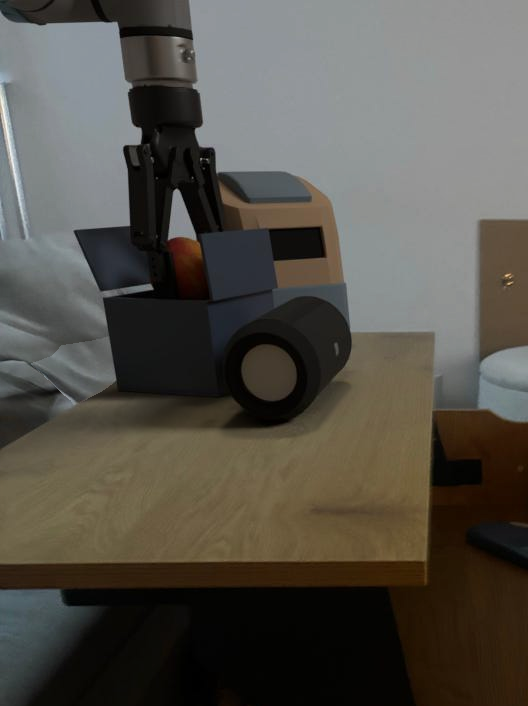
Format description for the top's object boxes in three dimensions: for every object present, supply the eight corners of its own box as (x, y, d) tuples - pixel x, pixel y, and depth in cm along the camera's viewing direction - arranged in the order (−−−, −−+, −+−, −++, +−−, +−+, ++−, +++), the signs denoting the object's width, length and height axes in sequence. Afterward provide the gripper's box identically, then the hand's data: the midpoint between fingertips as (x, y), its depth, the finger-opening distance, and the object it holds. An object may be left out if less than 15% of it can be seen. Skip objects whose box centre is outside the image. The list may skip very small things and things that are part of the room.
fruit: (165, 306, 119) (156, 234, 116) (232, 305, 120) (225, 234, 116) (148, 314, 112) (137, 239, 109) (219, 314, 112) (211, 238, 109)
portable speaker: (320, 427, 98) (312, 322, 93) (221, 427, 98) (208, 322, 94) (357, 379, 121) (352, 293, 116) (277, 379, 121) (268, 293, 117)
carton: (117, 390, 116) (91, 233, 108) (187, 370, 127) (167, 227, 120) (225, 398, 111) (205, 234, 104) (286, 376, 123) (272, 227, 115)
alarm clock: (251, 371, 126) (229, 171, 116) (197, 355, 138) (173, 172, 128) (362, 356, 135) (350, 170, 125) (302, 343, 147) (287, 171, 137)
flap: (102, 290, 111) (100, 291, 111) (175, 279, 122) (173, 280, 123) (75, 229, 109) (72, 230, 109) (152, 224, 120) (149, 225, 121)
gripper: (130, 77, 96) (164, 320, 106) (245, 92, 114) (265, 299, 123) (67, 80, 98) (106, 318, 108) (190, 94, 116) (214, 297, 126)
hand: (191, 307), depth 116 cm, fingers closed on fruit, 8 cm apart
